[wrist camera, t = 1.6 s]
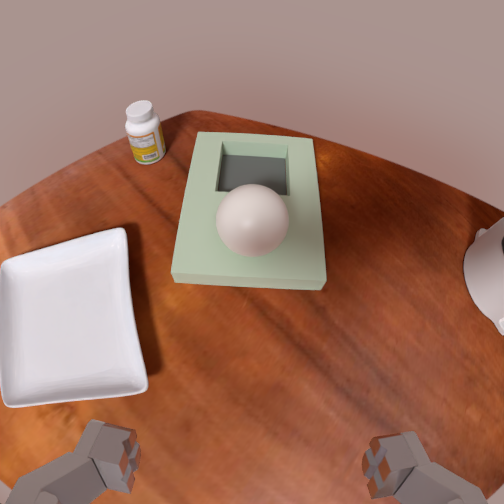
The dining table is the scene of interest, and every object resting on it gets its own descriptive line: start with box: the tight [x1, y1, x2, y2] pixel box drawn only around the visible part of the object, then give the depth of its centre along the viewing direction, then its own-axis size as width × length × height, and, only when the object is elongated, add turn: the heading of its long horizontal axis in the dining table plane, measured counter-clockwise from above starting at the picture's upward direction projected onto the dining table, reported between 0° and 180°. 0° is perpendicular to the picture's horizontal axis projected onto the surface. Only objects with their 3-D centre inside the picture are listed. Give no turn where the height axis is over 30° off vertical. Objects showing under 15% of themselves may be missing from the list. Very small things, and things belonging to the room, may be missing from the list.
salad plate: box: [0, 228, 148, 408], centre depth 34 cm, size 21×21×3 cm
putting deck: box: [171, 132, 327, 290], centre depth 43 cm, size 18×24×3 cm
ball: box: [216, 184, 289, 257], centre depth 35 cm, size 8×8×8 cm
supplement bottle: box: [125, 100, 166, 164], centre depth 45 cm, size 5×5×10 cm
